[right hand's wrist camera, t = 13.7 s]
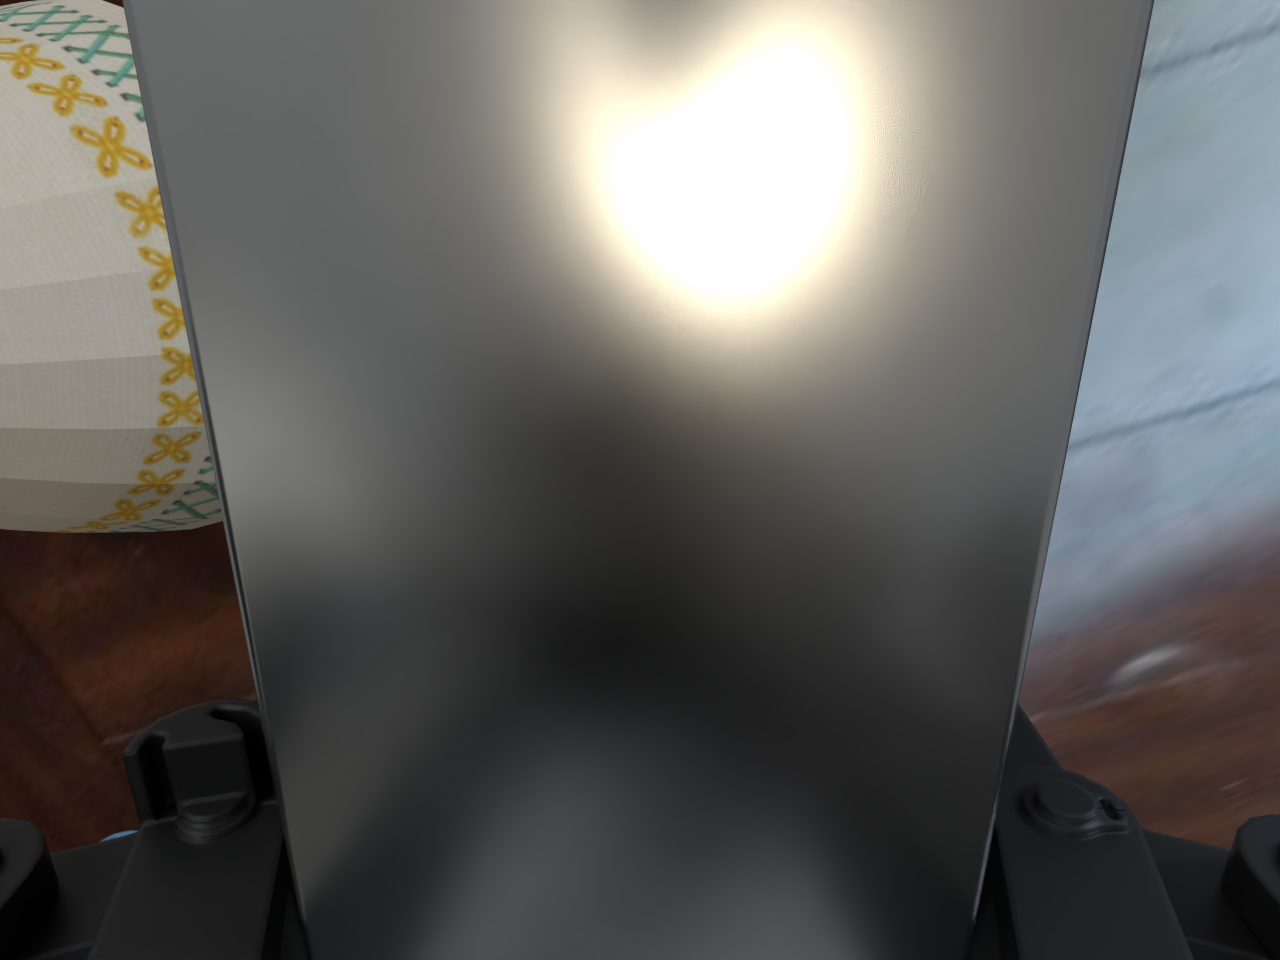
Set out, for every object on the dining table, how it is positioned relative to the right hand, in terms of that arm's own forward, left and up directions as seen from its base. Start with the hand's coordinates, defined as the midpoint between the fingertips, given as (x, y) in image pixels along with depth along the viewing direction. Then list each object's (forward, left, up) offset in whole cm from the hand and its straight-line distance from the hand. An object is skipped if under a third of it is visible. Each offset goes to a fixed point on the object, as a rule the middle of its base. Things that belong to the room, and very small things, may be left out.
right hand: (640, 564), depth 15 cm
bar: (+3, +9, -1) cm, 9 cm away
